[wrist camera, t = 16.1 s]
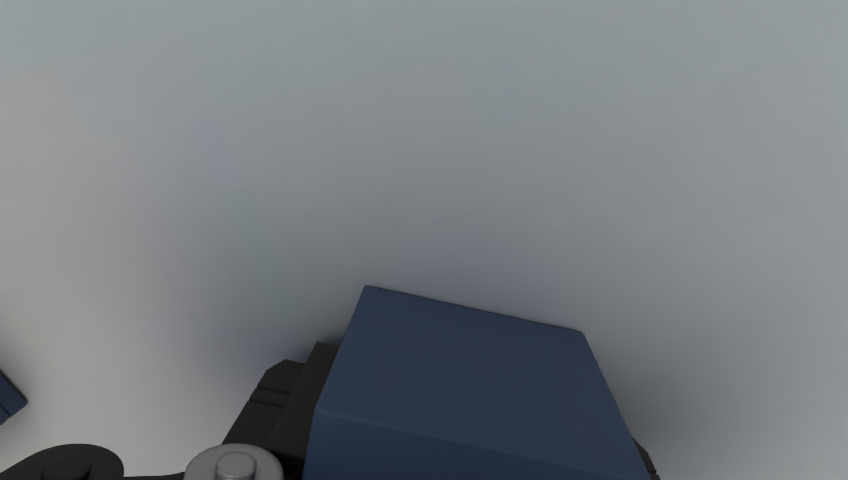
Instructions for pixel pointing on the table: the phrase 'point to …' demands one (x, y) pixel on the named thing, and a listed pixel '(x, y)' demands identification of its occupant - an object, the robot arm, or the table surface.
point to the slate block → (464, 400)
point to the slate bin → (9, 400)
